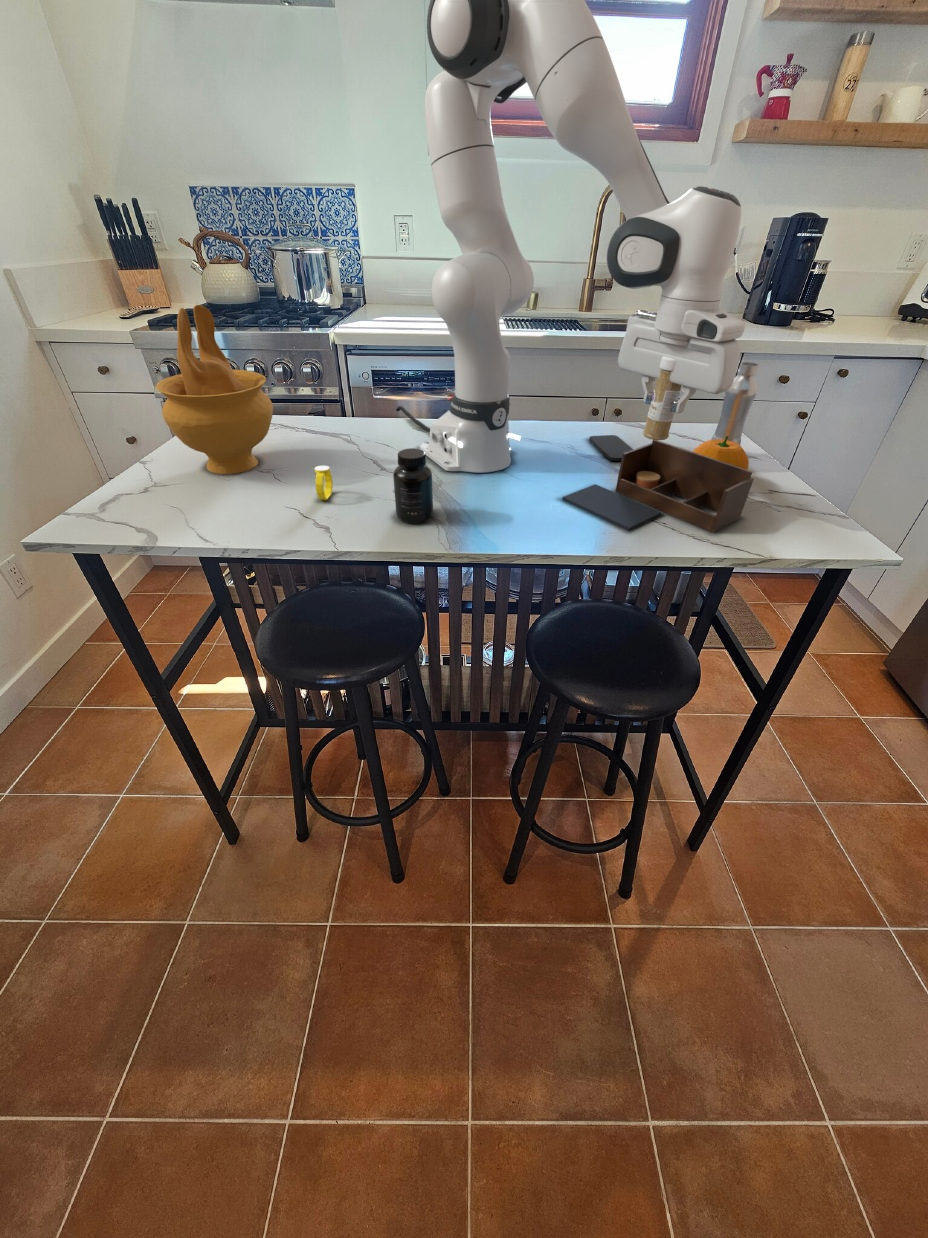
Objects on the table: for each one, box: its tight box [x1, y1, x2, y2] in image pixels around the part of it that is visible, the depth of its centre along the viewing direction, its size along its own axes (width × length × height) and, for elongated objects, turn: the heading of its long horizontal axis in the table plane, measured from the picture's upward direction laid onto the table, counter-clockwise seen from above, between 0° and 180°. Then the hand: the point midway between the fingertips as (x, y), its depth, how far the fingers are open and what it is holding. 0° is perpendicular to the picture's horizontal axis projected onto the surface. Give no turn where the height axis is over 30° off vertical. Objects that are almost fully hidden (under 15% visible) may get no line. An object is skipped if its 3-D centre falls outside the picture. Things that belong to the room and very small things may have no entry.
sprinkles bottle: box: [642, 357, 683, 441], centre depth 94 cm, size 5×5×13 cm
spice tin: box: [635, 471, 660, 489], centre depth 110 cm, size 5×5×4 cm
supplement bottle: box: [392, 447, 434, 525], centre depth 97 cm, size 7×7×12 cm
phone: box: [588, 434, 634, 462], centre depth 129 cm, size 7×1×15 cm
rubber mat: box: [561, 483, 663, 532], centre depth 105 cm, size 16×10×1 cm, turn 40°
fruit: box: [692, 436, 750, 470], centre depth 112 cm, size 12×12×10 cm
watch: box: [314, 465, 333, 501], centre depth 105 cm, size 6×3×6 cm, turn 175°
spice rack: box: [614, 440, 755, 534], centre depth 104 cm, size 22×9×9 cm, turn 40°
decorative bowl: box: [155, 304, 274, 475], centre depth 110 cm, size 21×21×30 cm
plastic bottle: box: [710, 361, 760, 446], centre depth 121 cm, size 6×7×20 cm
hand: (662, 407), depth 95 cm, fingers closed on sprinkles bottle, 4 cm apart
